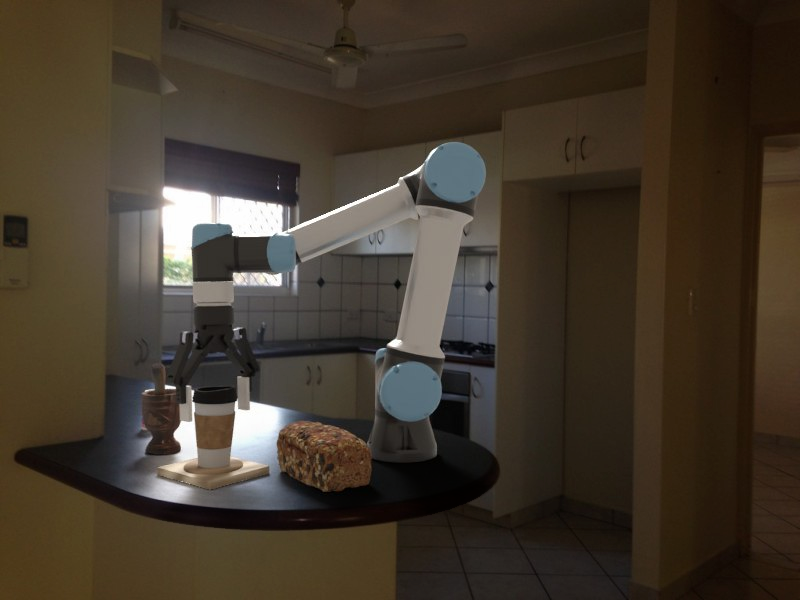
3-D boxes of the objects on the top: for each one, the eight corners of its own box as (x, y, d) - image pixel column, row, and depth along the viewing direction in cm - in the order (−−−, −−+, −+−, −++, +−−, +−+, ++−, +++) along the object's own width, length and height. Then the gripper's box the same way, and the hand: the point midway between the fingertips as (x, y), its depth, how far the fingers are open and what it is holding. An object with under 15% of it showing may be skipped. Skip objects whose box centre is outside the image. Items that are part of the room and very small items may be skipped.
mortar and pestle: (191, 456, 147) (191, 362, 146) (148, 461, 142) (148, 364, 142) (178, 445, 157) (178, 357, 156) (138, 449, 152) (137, 359, 152)
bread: (275, 472, 135) (275, 421, 135) (322, 464, 142) (322, 415, 141) (323, 496, 120) (324, 438, 120) (374, 485, 127) (374, 431, 126)
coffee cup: (224, 471, 128) (226, 391, 128) (182, 468, 130) (184, 388, 129) (243, 460, 136) (244, 384, 136) (204, 457, 138) (205, 382, 138)
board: (269, 473, 134) (269, 464, 134) (209, 490, 122) (209, 480, 122) (216, 460, 143) (216, 451, 143) (157, 474, 132) (157, 465, 132)
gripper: (251, 302, 144) (253, 403, 145) (143, 306, 124) (146, 424, 125) (275, 302, 140) (278, 406, 140) (168, 307, 120) (171, 428, 120)
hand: (216, 415), depth 133 cm, fingers open, 13 cm apart
